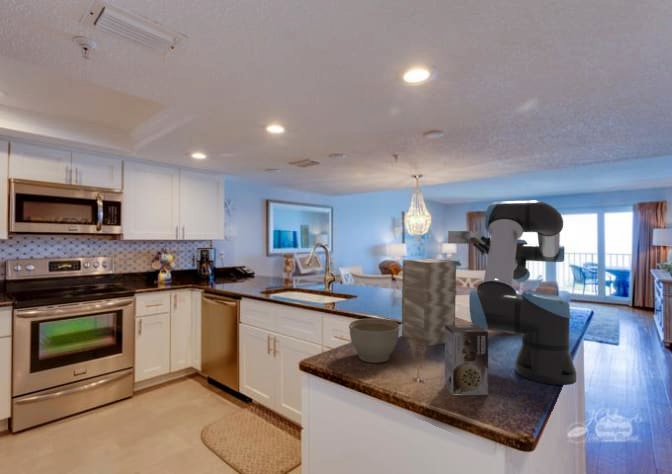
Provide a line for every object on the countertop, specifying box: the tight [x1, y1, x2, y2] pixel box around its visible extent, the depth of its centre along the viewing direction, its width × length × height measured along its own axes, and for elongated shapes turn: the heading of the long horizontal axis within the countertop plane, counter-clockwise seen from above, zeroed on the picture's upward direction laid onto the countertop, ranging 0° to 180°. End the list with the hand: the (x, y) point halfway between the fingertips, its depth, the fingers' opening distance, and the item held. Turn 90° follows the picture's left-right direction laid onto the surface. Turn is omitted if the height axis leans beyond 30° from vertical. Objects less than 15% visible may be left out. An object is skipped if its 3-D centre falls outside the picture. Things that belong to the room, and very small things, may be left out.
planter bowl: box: [348, 318, 401, 364], centre depth 111 cm, size 16×16×11 cm
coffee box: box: [444, 324, 489, 396], centre depth 89 cm, size 9×6×16 cm
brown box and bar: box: [447, 230, 489, 245], centre depth 143 cm, size 20×6×5 cm, turn 118°
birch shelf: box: [401, 258, 461, 347], centre depth 133 cm, size 16×14×30 cm
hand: (472, 233), depth 144 cm, fingers closed on brown box and bar, 3 cm apart
